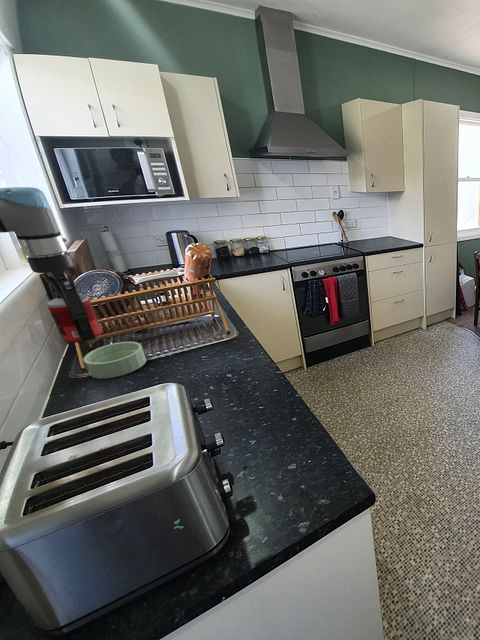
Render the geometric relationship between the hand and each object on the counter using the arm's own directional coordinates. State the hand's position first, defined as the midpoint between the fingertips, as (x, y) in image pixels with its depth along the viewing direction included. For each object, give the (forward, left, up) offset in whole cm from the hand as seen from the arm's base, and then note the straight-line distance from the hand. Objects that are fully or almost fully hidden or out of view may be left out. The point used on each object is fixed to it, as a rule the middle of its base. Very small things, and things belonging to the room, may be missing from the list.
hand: (83, 335), depth 95 cm
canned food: (0, 0, 0) cm, 0 cm away
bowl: (+8, +14, -19) cm, 25 cm away
